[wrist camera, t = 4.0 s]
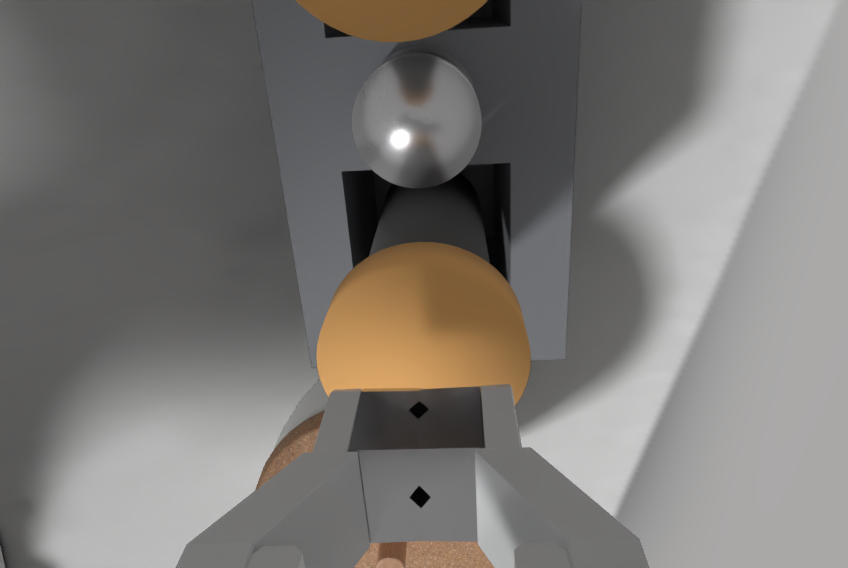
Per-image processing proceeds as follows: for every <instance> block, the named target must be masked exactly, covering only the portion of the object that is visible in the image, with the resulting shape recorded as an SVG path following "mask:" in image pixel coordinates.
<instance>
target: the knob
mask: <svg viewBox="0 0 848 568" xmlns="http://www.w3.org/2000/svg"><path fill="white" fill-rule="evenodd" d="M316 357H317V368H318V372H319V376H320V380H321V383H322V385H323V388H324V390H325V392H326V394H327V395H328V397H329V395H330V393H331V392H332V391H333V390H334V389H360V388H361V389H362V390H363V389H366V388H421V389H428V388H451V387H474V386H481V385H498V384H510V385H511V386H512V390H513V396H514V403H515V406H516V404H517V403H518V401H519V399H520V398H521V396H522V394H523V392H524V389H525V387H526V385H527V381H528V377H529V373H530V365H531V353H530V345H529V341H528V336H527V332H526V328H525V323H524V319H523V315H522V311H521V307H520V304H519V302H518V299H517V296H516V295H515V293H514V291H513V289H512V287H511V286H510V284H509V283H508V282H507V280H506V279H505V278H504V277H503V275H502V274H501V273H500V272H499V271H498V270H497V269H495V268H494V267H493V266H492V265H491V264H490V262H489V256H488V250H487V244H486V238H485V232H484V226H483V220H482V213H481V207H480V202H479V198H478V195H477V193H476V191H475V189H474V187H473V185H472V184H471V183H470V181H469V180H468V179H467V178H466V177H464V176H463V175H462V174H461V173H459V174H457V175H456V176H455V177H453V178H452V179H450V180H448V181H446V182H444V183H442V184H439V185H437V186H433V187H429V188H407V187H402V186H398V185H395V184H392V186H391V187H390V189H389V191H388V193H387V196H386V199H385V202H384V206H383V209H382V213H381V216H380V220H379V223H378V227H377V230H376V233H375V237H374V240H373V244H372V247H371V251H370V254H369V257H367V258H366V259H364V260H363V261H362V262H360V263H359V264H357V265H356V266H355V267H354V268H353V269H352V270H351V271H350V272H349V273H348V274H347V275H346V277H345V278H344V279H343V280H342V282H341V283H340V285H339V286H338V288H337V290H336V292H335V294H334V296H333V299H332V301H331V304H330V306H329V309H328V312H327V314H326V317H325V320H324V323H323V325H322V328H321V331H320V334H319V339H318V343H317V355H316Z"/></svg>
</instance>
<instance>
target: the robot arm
mask: <svg viewBox="0 0 848 568" xmlns="http://www.w3.org/2000/svg"><path fill="white" fill-rule="evenodd" d="M410 541H464V542H478V545H479V547H480V548H481V549H482V551H483V552H484V554H485V555H486V556H487V558H488V559H489V561H490V562H491V563H492V565H493V566H494V568H649V566H648V563H647V560H646V557H645V554H644V551H643V548H642V545H641V542H640V539H639V538H638V537H636V536H635V535H634V534H633V533H632V532H630V531H629V530H628V529H627V528H626V527H624V526H623V525H622V524H621V523H620V522H619V521H617V520H616V519H615V518H614V517H613V516H611V515H610V514H609V513H608V512H607V511H606V510H604V509H603V508H602V507H601V506H600V505H598V504H597V503H596V502H595V501H594V500H592V499H591V498H590V497H589V496H588V495H587V494H585V493H584V492H583V491H582V490H581V489H579V488H578V487H577V486H576V485H575V484H574V483H572V482H571V481H570V480H569V479H568V478H566V477H565V476H564V475H563V474H562V473H560V472H559V471H558V470H557V469H556V468H555V467H553V466H552V465H551V464H550V463H549V462H547V461H546V460H545V459H544V458H543V457H541V456H540V455H539V454H538V453H537V452H536V451H534V450H533V449H532V448H522V446H521V440H520V433H519V427H518V421H517V415H516V409H515V403H514V396H513V390H512V386H511V385H510V384H498V385H481V386H474V387H451V388H428V389H421V388H366V389H363V390H362V389H361V388H360V389H334V390H333V391H332V392H331V393H330V395H329V398H328V402H327V405H326V408H325V412H324V415H323V418H322V422H321V425H320V428H319V432H318V435H317V439H316V442H315V445H314V449H313V452H310V453H303V454H301V455H300V456H299V457H298V458H296V459H295V460H294V461H293V462H291V463H290V464H289V465H287V466H286V467H285V468H284V469H282V470H281V471H280V472H278V473H277V474H276V475H275V476H273V477H272V478H271V479H270V480H268V481H267V482H266V483H264V484H263V485H262V486H261V487H259V488H258V489H257V490H256V491H254V492H253V493H252V494H250V495H249V496H248V497H247V498H245V499H244V500H243V501H242V502H240V503H239V504H238V505H236V506H235V507H234V508H233V509H231V510H230V511H229V512H227V513H226V514H225V515H224V516H222V517H221V518H220V519H219V520H217V521H216V522H215V523H213V524H212V525H211V526H210V527H208V528H207V529H206V530H205V531H203V532H202V533H201V534H199V535H198V536H197V537H196V538H194V539H193V540H192V541H190V542H189V543H188V544H187V545H186V547H185V549H184V551H183V553H182V555H181V557H180V560H179V562H178V564H177V566H176V568H354V567H355V566H356V564H357V563H358V562H359V560H360V559H361V558H362V556H363V555H364V554H365V553H366V551H367V550H368V549H369V547H370V543H387V542H410ZM0 568H5V564H4V560H3V555H2V551H1V547H0Z"/></svg>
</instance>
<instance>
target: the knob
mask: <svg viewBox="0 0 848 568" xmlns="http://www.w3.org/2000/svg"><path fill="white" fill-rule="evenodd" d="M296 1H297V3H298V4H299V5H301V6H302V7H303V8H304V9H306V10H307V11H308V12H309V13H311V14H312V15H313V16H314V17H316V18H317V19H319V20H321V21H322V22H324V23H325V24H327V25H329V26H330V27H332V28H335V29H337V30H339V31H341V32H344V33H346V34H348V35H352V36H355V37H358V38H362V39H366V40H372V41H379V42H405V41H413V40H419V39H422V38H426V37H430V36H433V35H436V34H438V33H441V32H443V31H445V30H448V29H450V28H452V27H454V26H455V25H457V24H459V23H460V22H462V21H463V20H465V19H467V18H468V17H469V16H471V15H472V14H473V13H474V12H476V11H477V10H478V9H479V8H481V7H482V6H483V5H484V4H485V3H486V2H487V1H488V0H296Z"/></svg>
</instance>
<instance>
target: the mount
mask: <svg viewBox="0 0 848 568" xmlns="http://www.w3.org/2000/svg"><path fill="white" fill-rule="evenodd" d="M581 2H582V0H488V1H487V2H486V3H485V4H484V5H483V6H482V7H481V8H479V9H478V10H477V11H476V12H474V13H473V14H472V15H471V16H469V17H468V18H467V19H465V20H463V21H462V22H460V23H459V24H457V25H455V26H454V27H452V28H450V29H448V30H445V31H443V32H441V33H438V34H436V35H433V36H430V37H426V38H422V39H419V40H413V41H405V42H379V41H372V40H366V39H362V38H358V37H355V36H352V35H348V34H346V33H344V32H341V31H339V30H337V29H335V28H332V27H330V26H329V25H327V24H325V23H324V22H322V21H321V20H319V19H317V18H316V17H314V16H313V15H312V14H311V13H309V12H308V11H307V10H306V9H304V8H303V7H302V6H301V5H299V4H298V3H297V1H296V0H252V6H253V12H254V18H255V24H256V30H257V36H258V42H259V48H260V55H261V61H262V67H263V73H264V79H265V85H266V91H267V97H268V103H269V109H270V116H271V122H272V128H273V134H274V140H275V146H276V152H277V158H278V164H279V170H280V177H281V183H282V189H283V195H284V201H285V207H286V213H287V219H288V225H289V232H290V238H291V244H292V250H293V256H294V262H295V268H296V274H297V280H298V286H299V293H300V299H301V305H302V311H303V317H304V323H305V329H306V335H307V341H308V348H309V354H310V360H311V366H312V368H317V357H316V355H317V343H318V339H319V334H320V331H321V328H322V325H323V323H324V320H325V317H326V314H327V312H328V309H329V306H330V304H331V301H332V299H333V296H334V294H335V292H336V290H337V288H338V286H339V285H340V283H341V282H342V280H343V279H344V278H345V277H346V275H347V274H348V273H349V272H350V271H351V270H352V269H353V268H354V267H355V266H356V265H357V264H359V263H360V262H362V261H363V260H364V259H366V258H367V257H369V254H370V251H371V247H372V244H373V240H374V237H375V233H376V230H377V227H378V223H379V220H380V216H381V213H382V209H383V206H384V202H385V199H386V196H387V193H388V191H389V189H390V187H391V186H392V184H393V183H391V182H388V181H387V180H385V179H383V178H382V177H380V176H379V175H378V174H376V173H375V172H374V171H373V170H372V169H371V168H370V167H369V166H368V165H367V163H366V162H365V161H364V159H363V158H362V156H361V155H360V153H359V151H358V148H357V146H356V143H355V140H354V136H353V131H352V113H353V108H354V103H355V100H356V98H357V95H358V93H359V91H360V89H361V87H362V86H363V84H364V83H365V82H366V80H367V79H368V78H369V77H370V76H371V75H372V73H373V72H374V71H375V70H376V69H377V68H378V67H379V66H380V64H381V63H382V62H383V61H384V60H385V59H386V58H388V57H389V56H390V55H391V54H393V53H395V52H396V51H398V50H401V49H403V48H406V47H410V46H416V45H427V46H433V47H437V48H440V49H442V50H444V51H446V52H448V53H450V54H451V55H453V56H454V57H455V58H456V59H458V60H459V61H460V63H461V64H462V65H463V66H464V67H465V69H466V70H467V72H468V74H469V76H470V78H471V80H472V83H473V86H474V89H475V92H476V96H477V99H478V102H479V106H480V111H481V118H482V128H481V136H480V140H479V144H478V147H477V149H476V151H475V153H474V155H473V157H472V159H471V160H470V162H469V163H468V164H467V165H466V167H465V168H464V169H463V170H462V171H461V172H460V173H461V174H462V175H463V176H464V177H466V178H467V179H468V180H469V181H470V183H471V184H472V185H473V187H474V189H475V191H476V193H477V195H478V198H479V202H480V207H481V213H482V220H483V226H484V232H485V238H486V244H487V250H488V256H489V262H490V264H491V265H492V266H493V267H494V268H495V269H497V270H498V271H499V272H500V273H501V274H502V275H503V277H504V278H505V279H506V280H507V282H508V283H509V284H510V286H511V287H512V289H513V291H514V293H515V295H516V296H517V299H518V302H519V304H520V307H521V311H522V315H523V319H524V323H525V328H526V332H527V336H528V341H529V345H530V353H531V360H559V359H565V354H566V332H567V310H568V288H569V266H570V244H571V222H572V200H573V178H574V156H575V134H576V112H577V90H578V68H579V46H580V24H581Z"/></svg>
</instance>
